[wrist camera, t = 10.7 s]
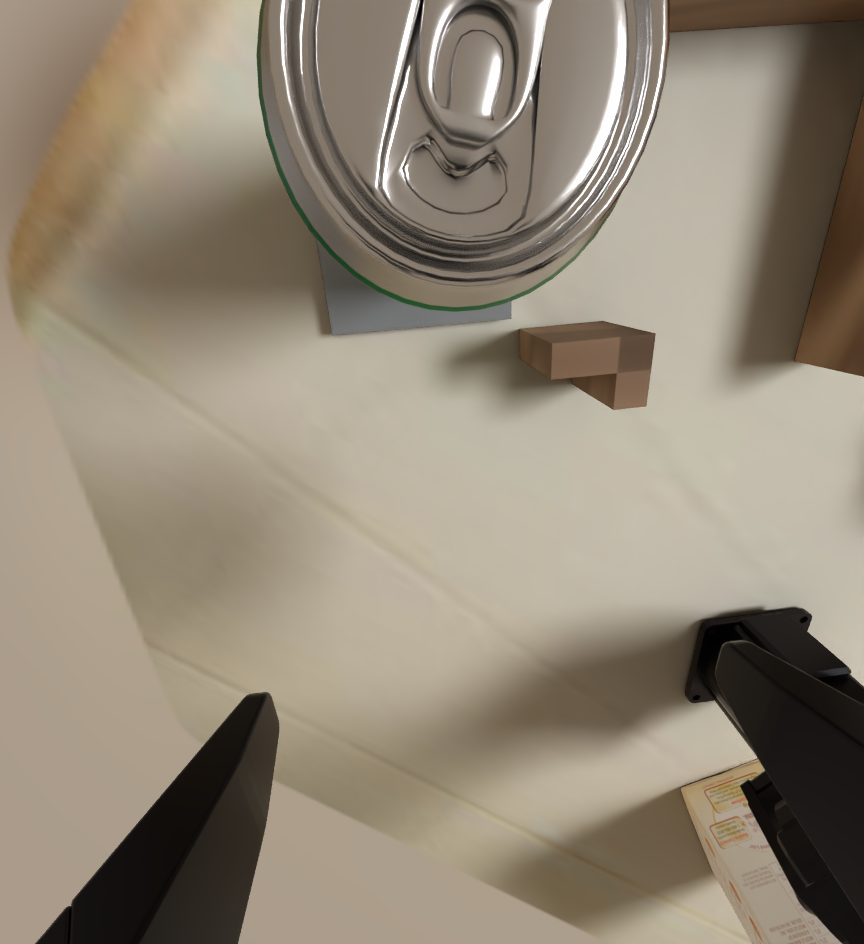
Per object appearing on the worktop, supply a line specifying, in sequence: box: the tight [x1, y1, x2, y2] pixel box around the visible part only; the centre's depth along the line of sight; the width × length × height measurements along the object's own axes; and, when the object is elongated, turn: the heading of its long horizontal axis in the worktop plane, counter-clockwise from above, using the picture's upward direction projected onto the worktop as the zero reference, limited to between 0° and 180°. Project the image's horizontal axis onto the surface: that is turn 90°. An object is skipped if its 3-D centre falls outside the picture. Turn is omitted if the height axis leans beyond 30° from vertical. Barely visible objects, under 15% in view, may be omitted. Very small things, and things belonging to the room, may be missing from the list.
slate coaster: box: [316, 239, 511, 335], centre depth 16 cm, size 7×7×1 cm
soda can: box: [257, 0, 670, 312], centre depth 10 cm, size 5×5×12 cm
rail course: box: [520, 0, 864, 410], centre depth 15 cm, size 13×14×4 cm
